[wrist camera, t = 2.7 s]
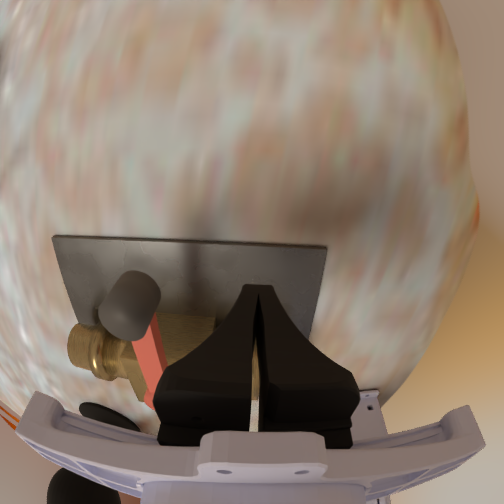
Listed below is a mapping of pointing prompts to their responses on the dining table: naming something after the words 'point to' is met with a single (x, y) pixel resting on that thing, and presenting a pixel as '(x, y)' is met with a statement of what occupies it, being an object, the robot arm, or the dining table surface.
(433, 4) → the dining table surface
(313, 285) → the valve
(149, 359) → the lever
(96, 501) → the wine glass
